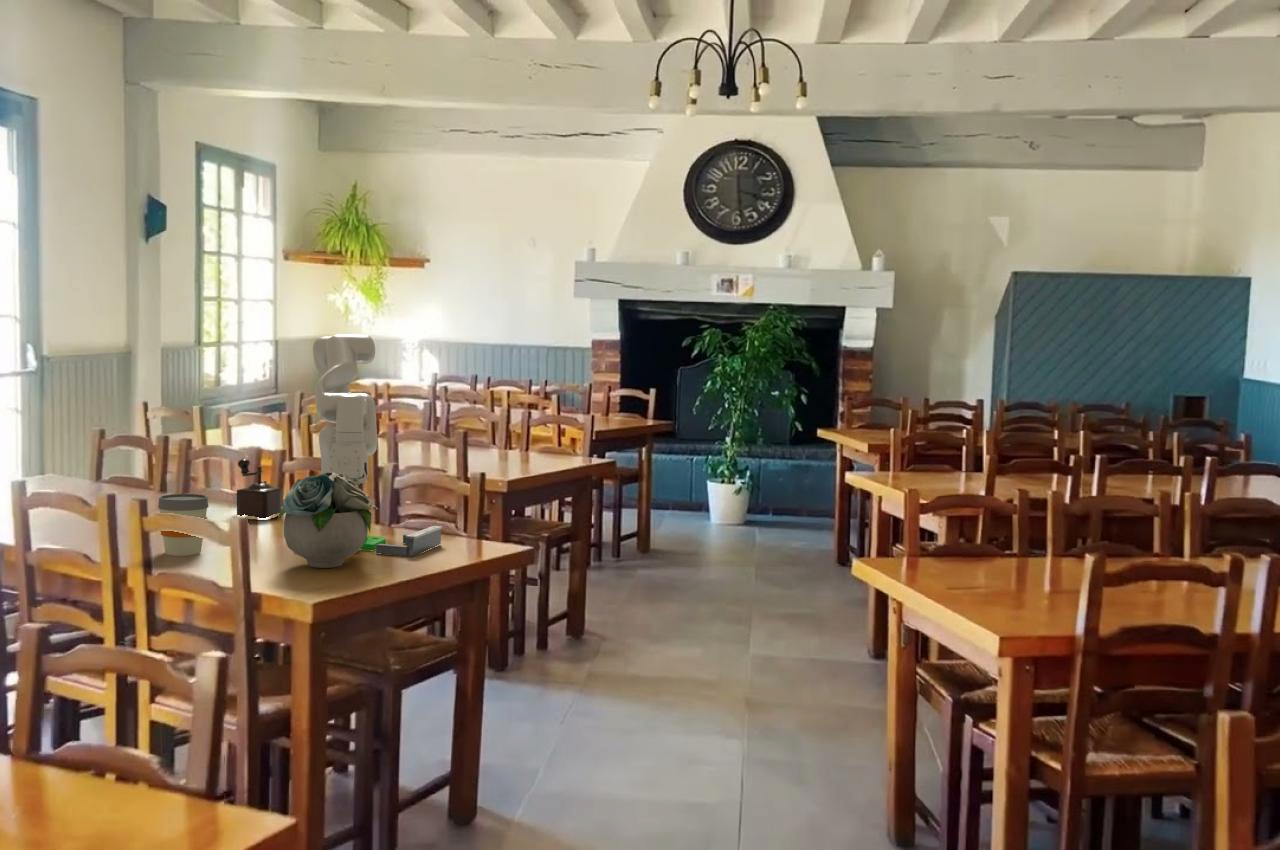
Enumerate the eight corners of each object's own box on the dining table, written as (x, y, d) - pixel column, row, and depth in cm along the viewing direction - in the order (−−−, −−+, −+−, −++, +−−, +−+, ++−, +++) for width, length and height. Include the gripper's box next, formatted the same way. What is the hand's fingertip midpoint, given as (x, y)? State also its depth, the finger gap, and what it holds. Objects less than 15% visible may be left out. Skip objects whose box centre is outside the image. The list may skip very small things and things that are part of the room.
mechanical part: (373, 551, 323) (374, 523, 322) (352, 550, 324) (353, 522, 323) (388, 544, 335) (389, 516, 334) (368, 543, 336) (369, 515, 335)
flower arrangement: (387, 571, 296) (389, 476, 295) (287, 578, 284) (288, 479, 282) (359, 553, 318) (361, 465, 316) (265, 559, 306) (266, 467, 304)
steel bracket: (376, 553, 319) (376, 533, 319) (405, 542, 337) (405, 523, 337) (414, 557, 316) (414, 536, 316) (441, 545, 334) (442, 526, 334)
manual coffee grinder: (284, 516, 375) (284, 460, 374) (264, 521, 364) (265, 464, 363) (241, 512, 379) (242, 457, 378) (221, 517, 368) (221, 461, 367)
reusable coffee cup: (159, 548, 315) (159, 493, 313) (208, 547, 319) (209, 493, 318) (156, 557, 303) (156, 500, 302) (207, 556, 307) (208, 500, 306)
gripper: (318, 438, 327) (318, 502, 328) (367, 440, 323) (366, 505, 324) (332, 436, 334) (331, 500, 335) (379, 438, 331) (378, 502, 332)
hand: (348, 502), depth 330 cm, fingers closed
